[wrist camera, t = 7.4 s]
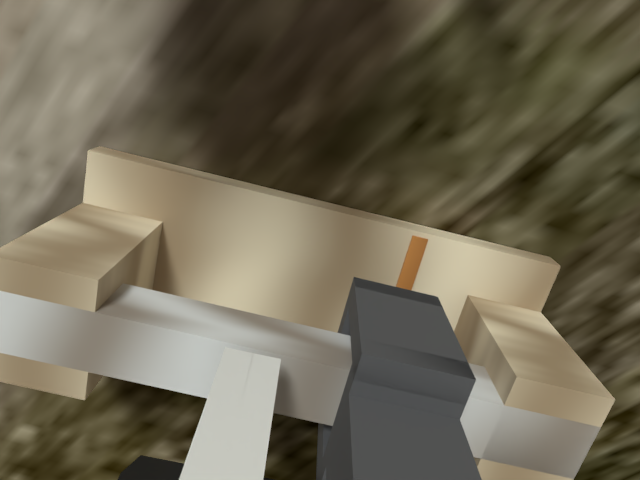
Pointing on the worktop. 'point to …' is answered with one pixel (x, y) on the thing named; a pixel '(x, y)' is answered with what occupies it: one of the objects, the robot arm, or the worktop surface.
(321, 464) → the dark grey sliding collar
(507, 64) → the worktop surface
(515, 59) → the worktop surface
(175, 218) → the rail
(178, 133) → the worktop surface
